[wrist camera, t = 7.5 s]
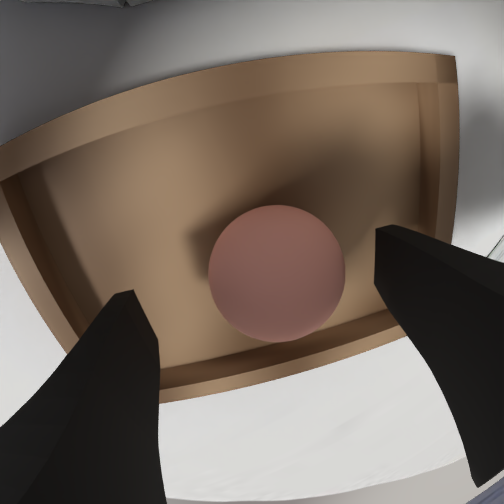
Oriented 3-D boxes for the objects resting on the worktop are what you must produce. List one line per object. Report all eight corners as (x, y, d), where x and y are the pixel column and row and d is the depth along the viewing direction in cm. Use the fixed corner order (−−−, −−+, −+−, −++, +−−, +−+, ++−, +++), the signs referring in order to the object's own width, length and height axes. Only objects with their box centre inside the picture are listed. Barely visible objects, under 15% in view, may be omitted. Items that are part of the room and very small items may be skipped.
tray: (116, 375, 15) (111, 409, 13) (1, 148, 9) (-31, 164, 7) (412, 298, 16) (434, 324, 14) (417, 54, 9) (455, 56, 8)
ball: (210, 314, 12) (259, 391, 8) (176, 215, 10) (223, 278, 6) (303, 271, 13) (371, 327, 10) (289, 175, 11) (375, 211, 7)
